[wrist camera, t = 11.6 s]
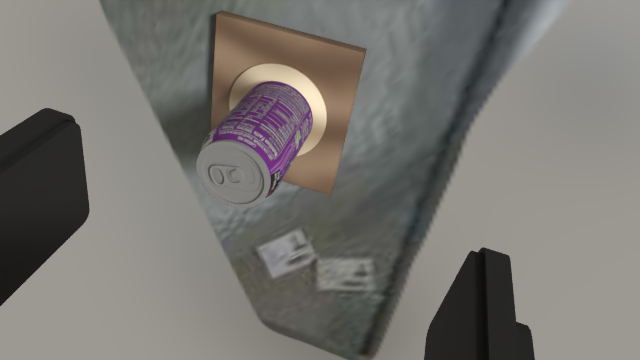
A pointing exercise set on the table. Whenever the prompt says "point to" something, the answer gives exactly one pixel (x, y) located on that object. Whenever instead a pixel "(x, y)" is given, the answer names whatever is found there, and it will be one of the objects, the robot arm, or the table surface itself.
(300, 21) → the table surface
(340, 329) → the table surface
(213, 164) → the beverage can
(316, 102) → the board
